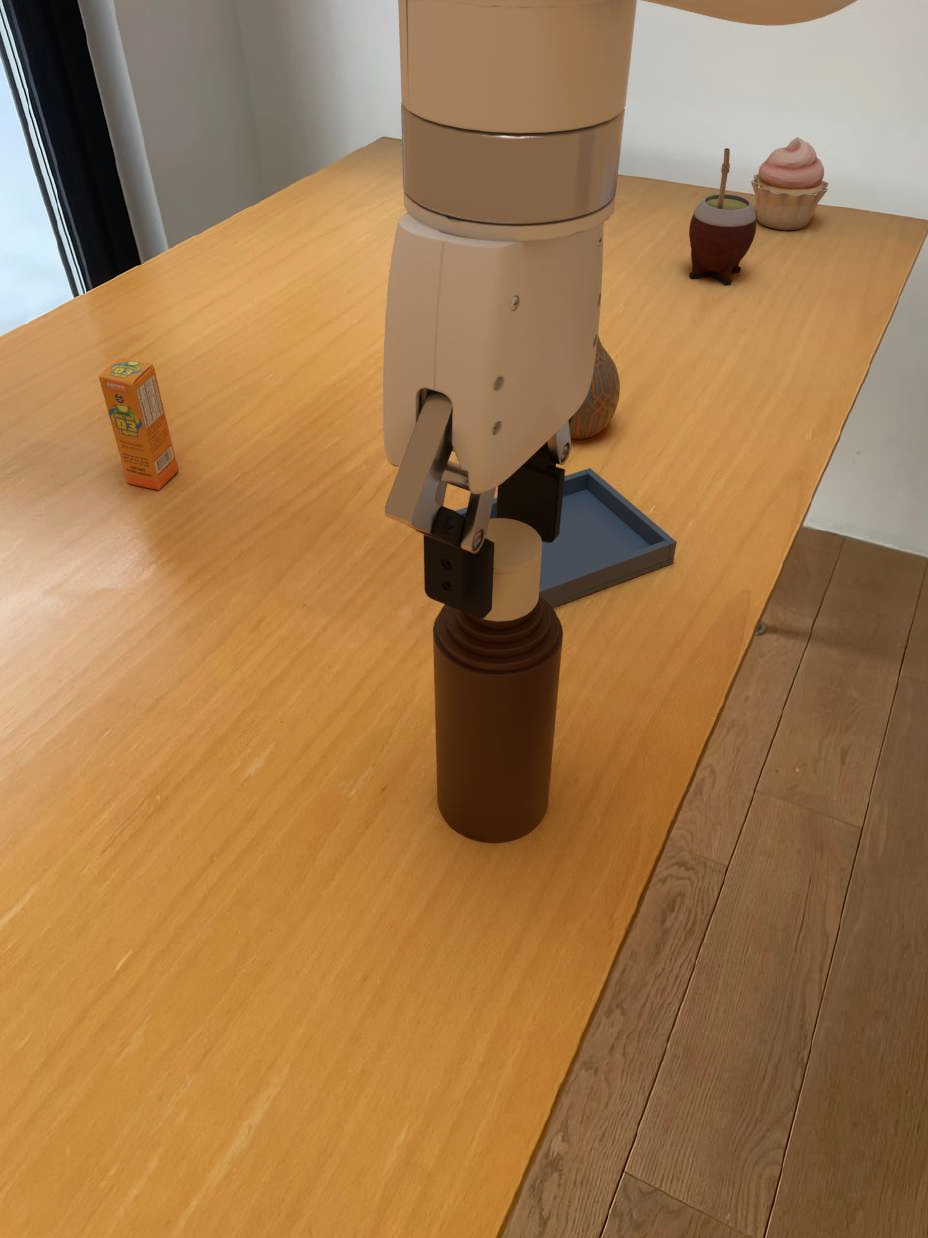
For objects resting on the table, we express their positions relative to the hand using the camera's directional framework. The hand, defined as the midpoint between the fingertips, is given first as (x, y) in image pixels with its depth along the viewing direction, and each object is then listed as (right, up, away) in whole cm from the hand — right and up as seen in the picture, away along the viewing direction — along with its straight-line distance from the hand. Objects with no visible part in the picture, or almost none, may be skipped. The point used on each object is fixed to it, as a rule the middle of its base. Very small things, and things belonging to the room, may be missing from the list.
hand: (494, 563), depth 47 cm
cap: (0, -2, +1) cm, 2 cm away
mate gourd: (+27, +36, +67) cm, 81 cm away
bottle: (0, -13, +11) cm, 17 cm away
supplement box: (-27, +9, +36) cm, 46 cm away
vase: (+9, +14, +42) cm, 45 cm away
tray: (+6, +3, +29) cm, 30 cm away
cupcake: (+38, +47, +79) cm, 100 cm away
